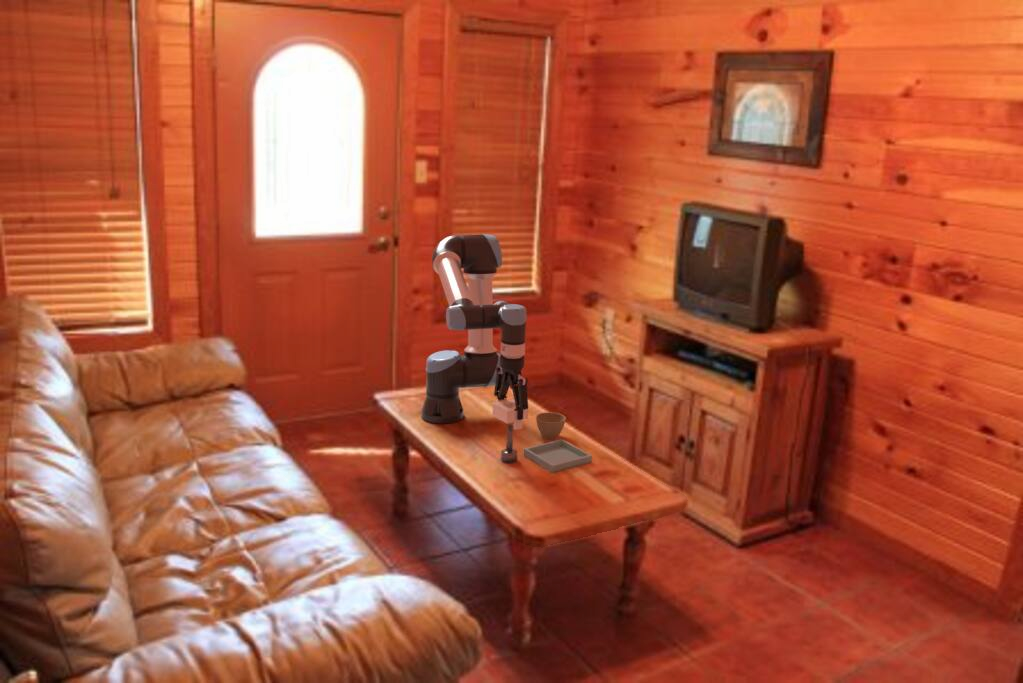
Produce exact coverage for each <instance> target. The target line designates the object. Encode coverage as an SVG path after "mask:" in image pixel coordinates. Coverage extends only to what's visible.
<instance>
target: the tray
mask: <svg viewBox="0 0 1023 683" xmlns="http://www.w3.org/2000/svg"><path fill="white" fill-rule="evenodd" d="M523 457H526V458H527V459H529V460H531V461H532V462H534V463H535V464H536V465H538V466H540V467H542V469H543V468H544V469H545V470H547V471H548V472H550V473H552V474H554V473H559V472H561V471H565V470H569V469H573V468H576V467H580V466H584V465H587V464H591V462H593V455H592V454H590V453H588V452H587V451H585V450H583V449H581V448H579V447H578V446H576V445H574V444H572V443H570V442H569V441H566V440H565V439H562V438H560V439H557V440H556V439H555V440H552V441H549V442H544V443H541V444H536V445H531V446H528V447H525V448H523Z"/></svg>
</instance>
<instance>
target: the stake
mask: <svg viewBox="0 0 1023 683" xmlns="http://www.w3.org/2000/svg"><path fill="white" fill-rule="evenodd" d="M505 444H506V447H505V448H503V449H502V450H501V452H500V454H501V456H500V457H501V458H500V459H501V460H500V461H501V463H504V464H515V463H517V462H518V450H517V449H515V448H513V446H514V423H513V424H512V423H506V443H505Z"/></svg>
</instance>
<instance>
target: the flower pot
mask: <svg viewBox="0 0 1023 683" xmlns="http://www.w3.org/2000/svg"><path fill="white" fill-rule="evenodd" d="M566 419H567V418H566V416H565V415H563V414H561V413H558V412H552V411H551V412H550V411H549V412H541V413H538V414H537V415H536V416H535V421H536V427H537V428H538V431H539V433H540V435H541V437H542V438H543V439H544V440H549V441H550V440H552V441H554V440H556V439H558V437H559V436H560V434H561V433H562V431H563V430H564V426H565V422H566Z"/></svg>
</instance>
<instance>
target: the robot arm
mask: <svg viewBox="0 0 1023 683" xmlns="http://www.w3.org/2000/svg"><path fill="white" fill-rule="evenodd" d="M431 264H432V268H433V270H434V272H435V273H436V274H437V275H438V276H439V279H440V283H441V284H442V288H443V291H444V294H445V297H446V300H447V303H448V307H447V308H446V312H445V319H446V320H445V321H446V327H447V328H448V329H449V330H450V331H453V330H454V331H468V332H467V333H468V338H467V340H468V345H467V346H466V347H465V348H464V350H463V351H464V352H463V353H464V354H461V355H460V353H459V352H458V351H457V350H439V351H437V352H434V353H432V354H430V355H429V356H428V357H427V359H426V363H425V365H426V366H425V374H426V375H425V376H426V377H425V378H426V380H425V382H426V383H425V389H426V390H425V391H426V392H425V398H424V401H423V404H422V408H421V411H420V412H421V414H420V415H421V418H422V419H423V421H425V422H429V423H433V424H434V423H435V424H451V423H453V424H454V423H456V422H459V421H460V420H463V418H464V407H463V405H462V401H461V398H460V389H466V388H482V387H483V388H487V387H492V386H493V387H494V390H493V391H494V392H493V395H494V397H496V399H497V402H501V401H506V400H508V399H507V398H508V396H507V395H508V392H509V388H510V389H511V390H512V394H513V395H512V396H513V399H514V400H515V405H516V409H514V422H513V430H519V429H523V420H522V419H523V410H525V409H528V410H529V397H528V381H529V380H528V378H527V377H523V376H522V370H523V368H525V360H526V359H525V354H526V333H527V332H526V330H527V320H528V316H527V308H526V307H525V305H521V304H516V303H509V302H507V301H504V300H499V301H496V302H494V303H493V279H494V277H495V276H496V275H497V272H498V271H497V269H500V268H502V264H503V254H502V247H501V244H500V242H499V239H498V238H497V236H495V235H493V234H485V233H482V234H481V233H480V234H453V235H450V236H449V235H448V236H446V237H444V238H443V239H442V240H440V241H439V242H438V243H437V245H436V246H435V248H434V249H433V251H432V255H431ZM462 269H463V271H462ZM465 277H467V283H466V279H465ZM493 329H500V353H498V349H497V348H496V347H495V346H494V341H493ZM497 420H498V421H501V420H500V419H498V418H497Z"/></svg>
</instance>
